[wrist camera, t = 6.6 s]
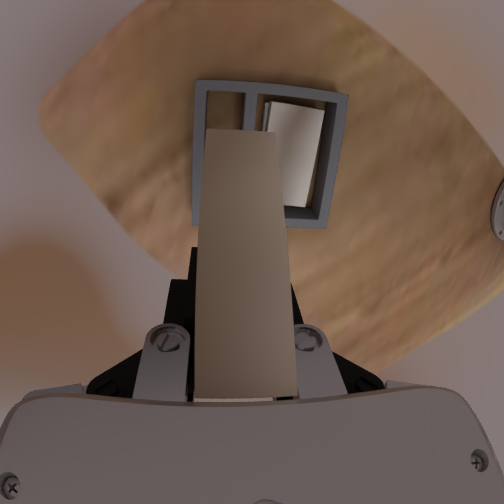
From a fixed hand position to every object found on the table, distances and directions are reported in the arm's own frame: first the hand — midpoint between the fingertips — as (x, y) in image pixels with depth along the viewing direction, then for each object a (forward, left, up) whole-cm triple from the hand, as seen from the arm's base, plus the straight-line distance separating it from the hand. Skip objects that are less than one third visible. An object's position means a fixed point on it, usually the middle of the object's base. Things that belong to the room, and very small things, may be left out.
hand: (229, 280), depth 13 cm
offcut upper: (-6, -1, -20) cm, 21 cm away
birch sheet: (0, +6, -3) cm, 6 cm away
